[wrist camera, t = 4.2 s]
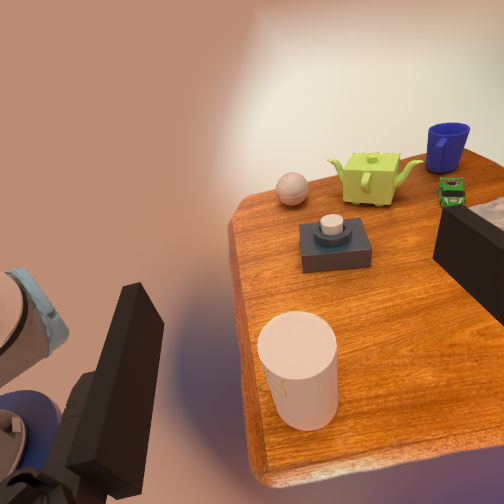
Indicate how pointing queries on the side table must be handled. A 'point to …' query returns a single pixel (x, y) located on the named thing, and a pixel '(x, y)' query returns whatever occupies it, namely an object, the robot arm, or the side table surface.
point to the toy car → (451, 192)
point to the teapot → (372, 177)
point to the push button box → (334, 247)
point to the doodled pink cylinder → (301, 368)
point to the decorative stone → (492, 212)
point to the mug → (445, 146)
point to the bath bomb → (292, 189)
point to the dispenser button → (331, 224)
